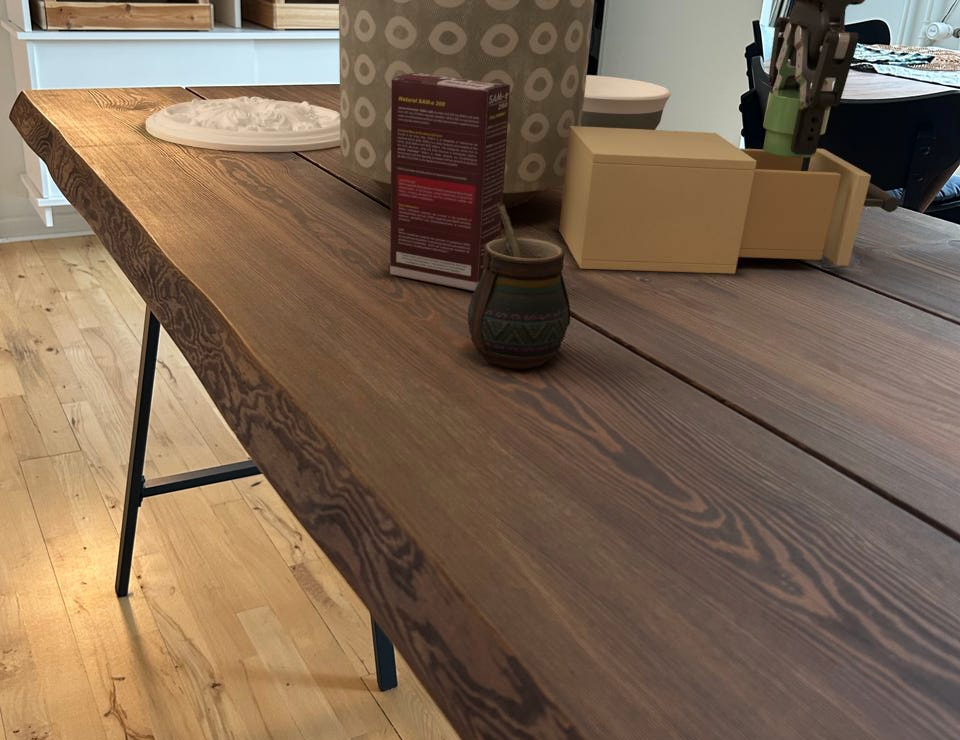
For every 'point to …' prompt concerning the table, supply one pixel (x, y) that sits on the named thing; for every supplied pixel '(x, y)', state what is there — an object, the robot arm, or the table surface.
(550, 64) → the planter
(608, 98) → the bowl
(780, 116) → the green stepped cylinder
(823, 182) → the drawer
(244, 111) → the ceiling medallion
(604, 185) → the cabinet
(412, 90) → the supplement box
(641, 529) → the table surface
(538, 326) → the mate gourd
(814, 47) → the robot arm
